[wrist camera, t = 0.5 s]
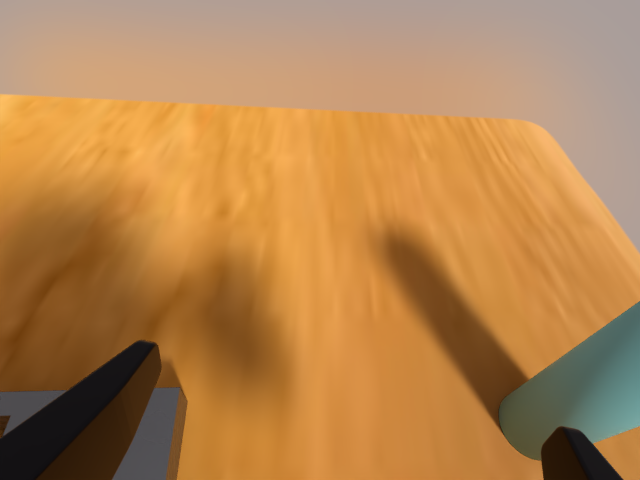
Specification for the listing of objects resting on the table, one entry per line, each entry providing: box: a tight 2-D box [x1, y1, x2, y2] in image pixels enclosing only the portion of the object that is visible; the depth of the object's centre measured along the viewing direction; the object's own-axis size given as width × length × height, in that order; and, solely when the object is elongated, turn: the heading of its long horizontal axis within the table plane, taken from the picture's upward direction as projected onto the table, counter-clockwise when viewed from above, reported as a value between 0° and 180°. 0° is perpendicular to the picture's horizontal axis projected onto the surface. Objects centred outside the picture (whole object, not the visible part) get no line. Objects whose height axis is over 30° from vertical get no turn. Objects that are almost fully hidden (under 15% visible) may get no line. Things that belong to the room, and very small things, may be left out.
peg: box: [499, 301, 640, 460], centre depth 20 cm, size 4×4×13 cm
